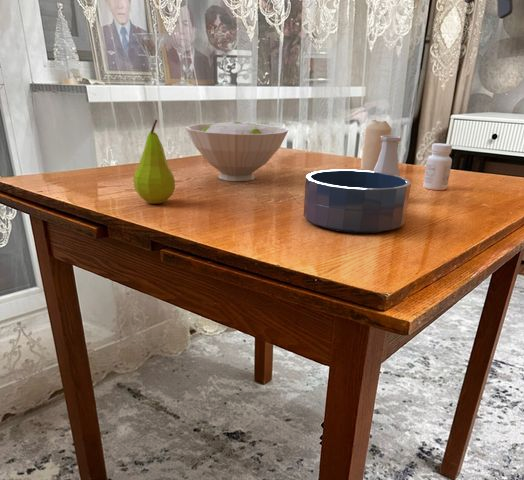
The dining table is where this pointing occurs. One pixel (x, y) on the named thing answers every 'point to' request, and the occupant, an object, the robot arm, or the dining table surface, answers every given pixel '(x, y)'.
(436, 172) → the pill bottle
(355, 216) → the blue dish
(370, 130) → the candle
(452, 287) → the dining table surface
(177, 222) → the dining table surface
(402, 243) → the dining table surface
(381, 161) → the flask
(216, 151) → the bowl
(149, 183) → the fruit
